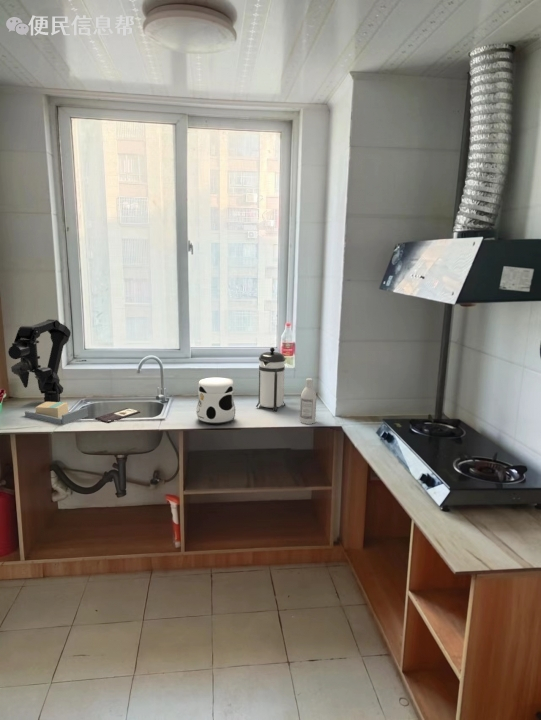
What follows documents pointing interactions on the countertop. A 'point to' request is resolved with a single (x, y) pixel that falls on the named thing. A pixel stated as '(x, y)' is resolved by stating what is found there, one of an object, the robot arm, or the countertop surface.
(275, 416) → the countertop surface
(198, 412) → the milk container
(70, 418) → the grey tray
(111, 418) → the chocolate bar
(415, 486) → the countertop surface
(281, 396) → the coffee press
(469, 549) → the countertop surface
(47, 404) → the carton
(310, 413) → the bath foam
